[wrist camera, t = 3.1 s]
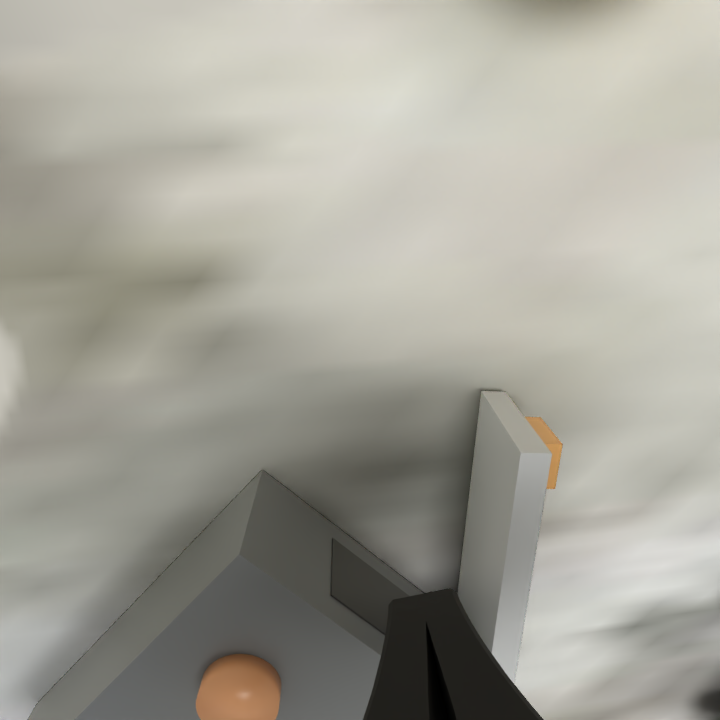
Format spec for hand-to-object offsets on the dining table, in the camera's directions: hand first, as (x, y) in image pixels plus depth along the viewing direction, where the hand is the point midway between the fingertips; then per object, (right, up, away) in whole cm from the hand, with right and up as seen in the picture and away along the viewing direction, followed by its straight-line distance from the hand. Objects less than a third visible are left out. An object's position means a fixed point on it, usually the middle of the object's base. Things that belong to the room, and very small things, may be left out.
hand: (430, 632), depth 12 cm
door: (+2, +1, +6) cm, 6 cm away
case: (-5, -4, +7) cm, 10 cm away
